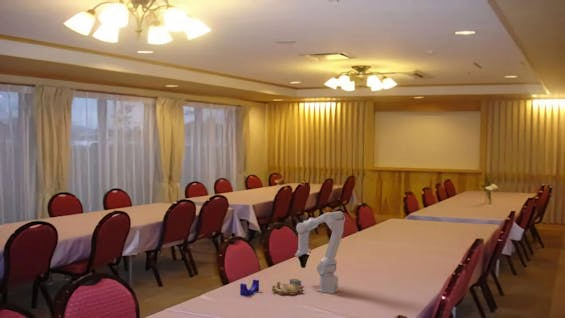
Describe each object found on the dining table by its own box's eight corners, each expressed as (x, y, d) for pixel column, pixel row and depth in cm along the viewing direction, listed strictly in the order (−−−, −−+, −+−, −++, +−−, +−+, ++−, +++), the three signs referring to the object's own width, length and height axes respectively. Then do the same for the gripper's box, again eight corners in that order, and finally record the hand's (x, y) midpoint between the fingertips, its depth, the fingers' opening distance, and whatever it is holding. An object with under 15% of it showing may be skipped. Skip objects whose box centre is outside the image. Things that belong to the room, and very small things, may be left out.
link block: (301, 287, 310) (301, 280, 310) (294, 288, 308) (294, 281, 308) (295, 284, 315) (295, 278, 315) (289, 285, 313) (289, 279, 313)
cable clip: (246, 296, 291) (246, 285, 291) (240, 295, 294) (240, 284, 293) (261, 291, 301) (261, 280, 300) (254, 290, 303) (254, 279, 303)
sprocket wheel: (296, 285, 311) (296, 276, 311) (307, 292, 295) (307, 284, 295) (267, 287, 306) (267, 278, 306) (277, 295, 290) (277, 286, 290)
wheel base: (303, 290, 303) (303, 289, 303) (291, 296, 292) (291, 295, 292) (283, 286, 310) (283, 286, 310) (270, 292, 299) (270, 291, 299)
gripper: (303, 240, 324) (303, 264, 324) (290, 244, 311) (290, 269, 312) (314, 242, 320) (314, 265, 320) (301, 246, 308) (301, 270, 308)
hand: (303, 267), depth 316 cm, fingers closed
